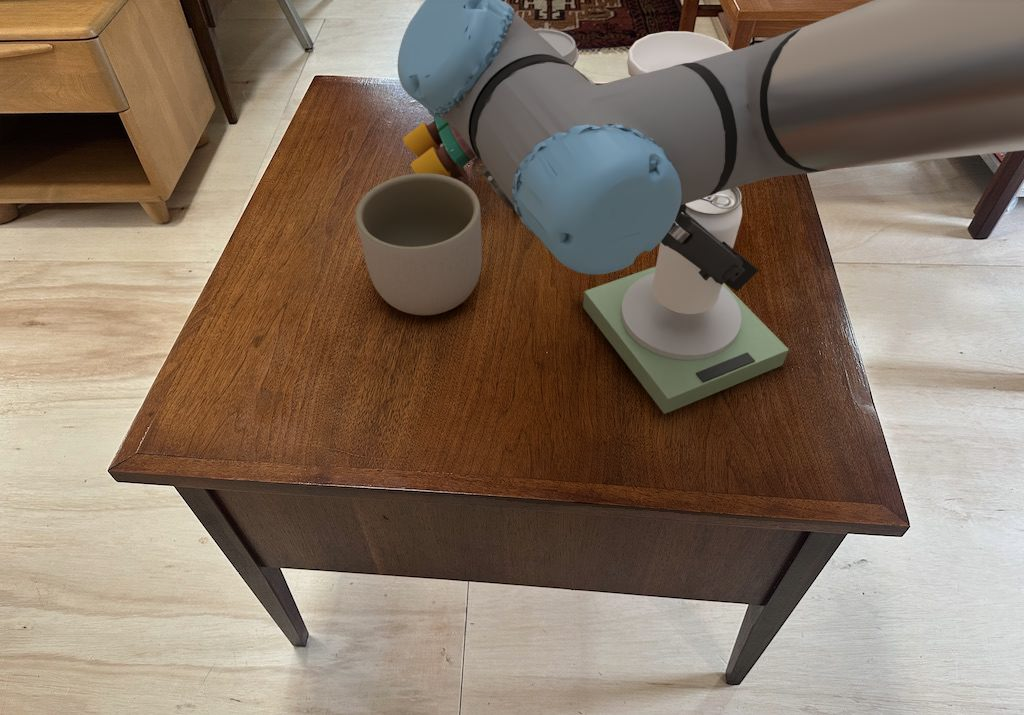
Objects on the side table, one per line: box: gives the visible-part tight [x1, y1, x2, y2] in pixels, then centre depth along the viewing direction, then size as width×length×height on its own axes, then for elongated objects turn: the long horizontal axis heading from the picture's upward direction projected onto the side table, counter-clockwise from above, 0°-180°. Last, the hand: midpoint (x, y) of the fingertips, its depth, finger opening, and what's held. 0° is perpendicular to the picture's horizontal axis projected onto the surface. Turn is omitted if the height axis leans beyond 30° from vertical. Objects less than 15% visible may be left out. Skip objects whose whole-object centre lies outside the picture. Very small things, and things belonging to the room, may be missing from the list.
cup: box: [626, 30, 734, 77], centre depth 88 cm, size 12×12×15 cm
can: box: [652, 186, 743, 315], centre depth 65 cm, size 6×6×12 cm
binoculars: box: [402, 116, 515, 210], centre depth 85 cm, size 14×14×15 cm
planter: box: [354, 173, 483, 316], centre depth 75 cm, size 12×12×11 cm
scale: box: [582, 265, 790, 415], centre depth 73 cm, size 16×14×3 cm
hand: (722, 255), depth 68 cm, fingers closed on can, 6 cm apart
